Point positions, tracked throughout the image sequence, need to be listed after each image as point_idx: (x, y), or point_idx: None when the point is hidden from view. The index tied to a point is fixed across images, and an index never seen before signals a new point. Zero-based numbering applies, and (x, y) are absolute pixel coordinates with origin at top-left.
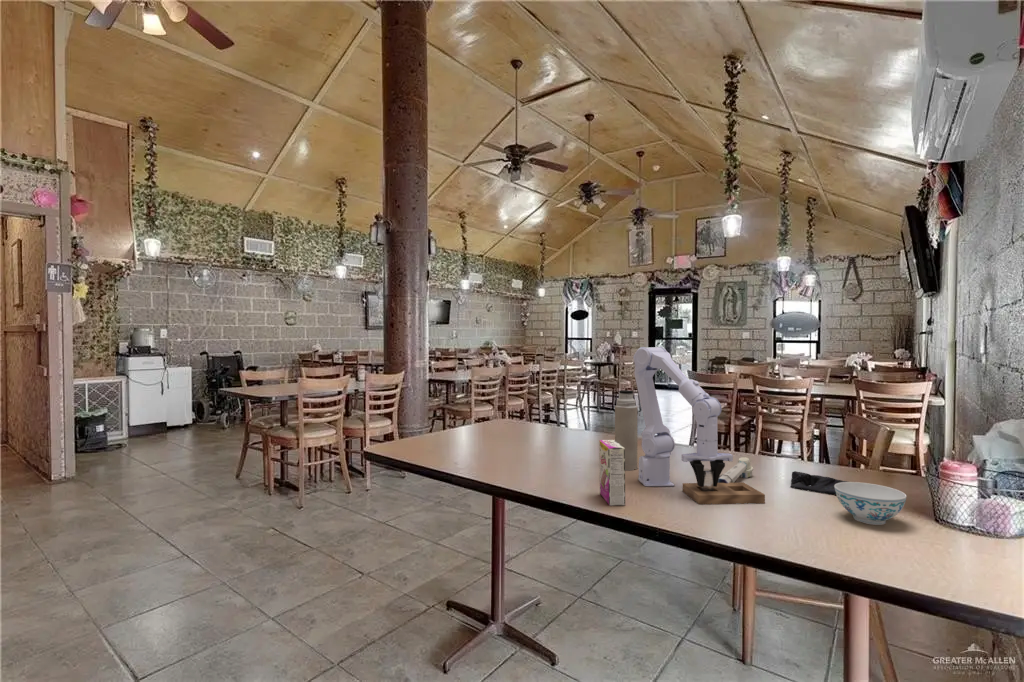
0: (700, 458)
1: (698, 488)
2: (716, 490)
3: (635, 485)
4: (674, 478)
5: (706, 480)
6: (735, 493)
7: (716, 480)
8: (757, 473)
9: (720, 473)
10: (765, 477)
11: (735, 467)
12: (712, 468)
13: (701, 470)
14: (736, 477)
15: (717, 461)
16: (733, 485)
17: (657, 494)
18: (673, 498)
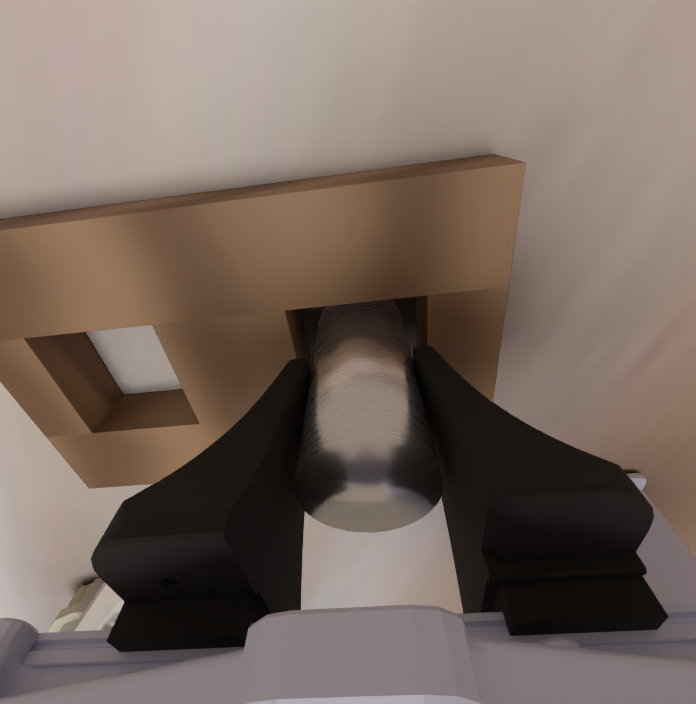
0: (630, 666)
1: None
2: (294, 343)
3: (675, 486)
4: (417, 563)
5: (391, 371)
6: (149, 257)
7: (284, 384)
8: (59, 611)
9: (225, 434)
10: (23, 584)
11: (113, 622)
12: (293, 525)
13: (489, 439)
14: None
15: (212, 611)
16: (153, 438)
17: (663, 363)
18: (610, 292)
